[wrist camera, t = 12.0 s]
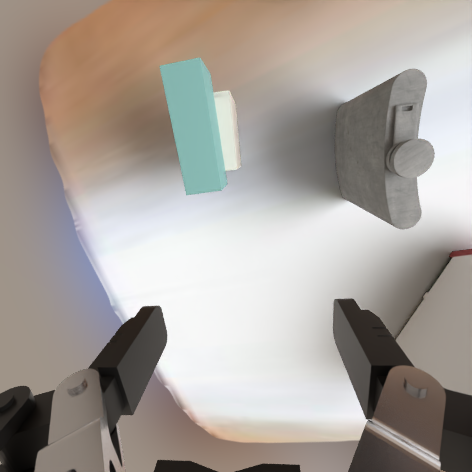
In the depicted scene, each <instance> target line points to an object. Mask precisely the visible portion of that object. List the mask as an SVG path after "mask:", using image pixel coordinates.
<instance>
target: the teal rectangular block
mask: <svg viewBox="0 0 472 472" xmlns="http://www.w3.org/2000/svg"><path fill="white" fill-rule="evenodd" d="M160 71H161V75H162V80H163V85H164V90H165V95H166V99H167V104H168V109H169V114H170V119H171V123H172V128H173V133H174V138H175V143H176V147H177V152H178V157H179V162H180V167H181V171H182V176H183V181H184V186H185V191H186V195H191V194H199V193H206V192H214V191H221V190H222V189H223V188H224V187H225V186H226V185H227V178H226V172H225V165H224V159H223V152H222V146H221V139H220V133H219V126H218V120H217V113H216V107H215V100H214V94H213V87H212V80H211V74H210V73H209V71H208V69H207V68H206V66H205V65H204V63H203V61H202V60H201V58H195V59H190V60H185V61H181V62H176V63H171V64H166V65H161V66H160Z"/></svg>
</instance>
